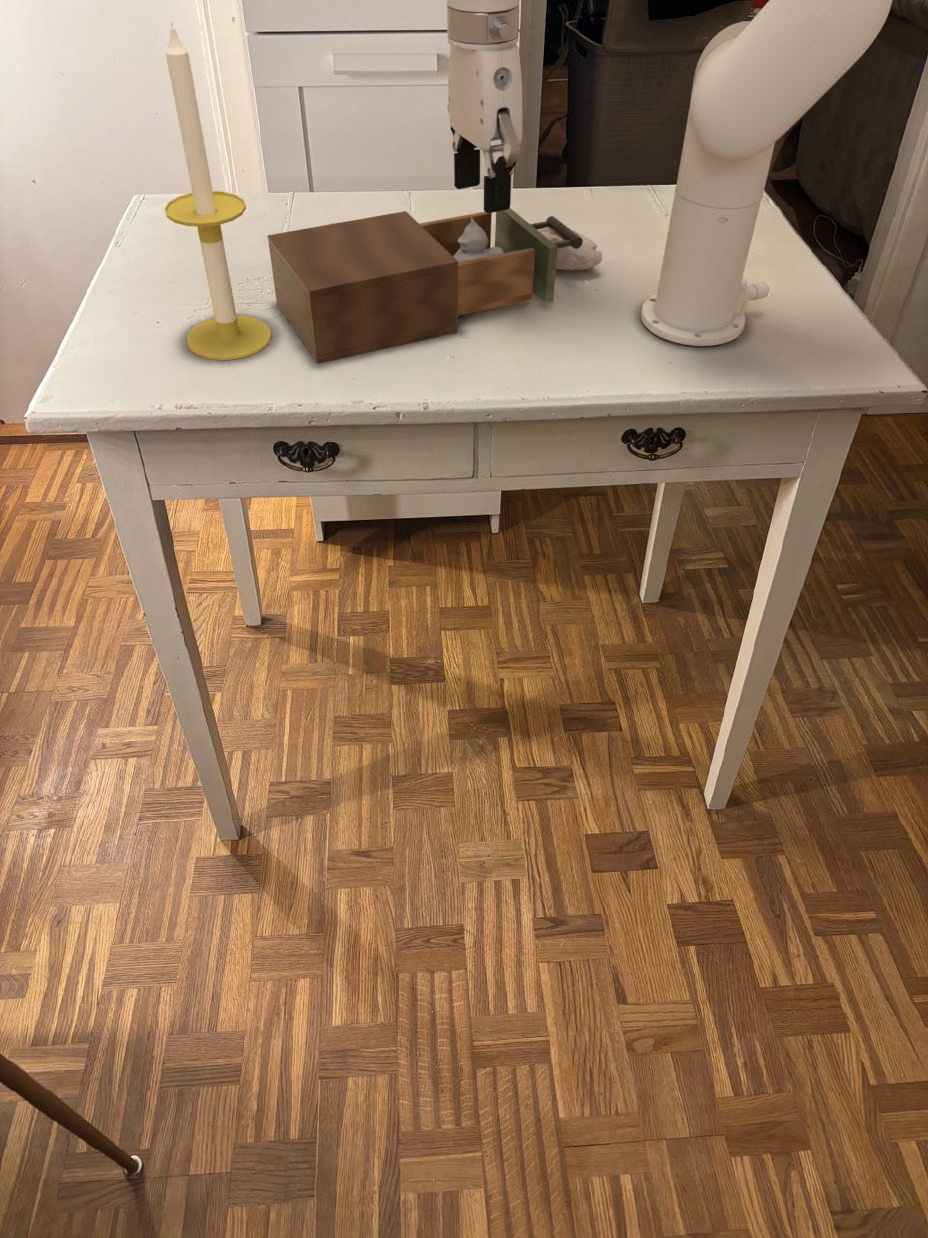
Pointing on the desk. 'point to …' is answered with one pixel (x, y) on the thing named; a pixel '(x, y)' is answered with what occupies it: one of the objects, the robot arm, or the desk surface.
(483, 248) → the rubber duck
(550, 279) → the drawer
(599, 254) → the fossil
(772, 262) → the desk surface
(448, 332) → the cabinet
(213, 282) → the candle
